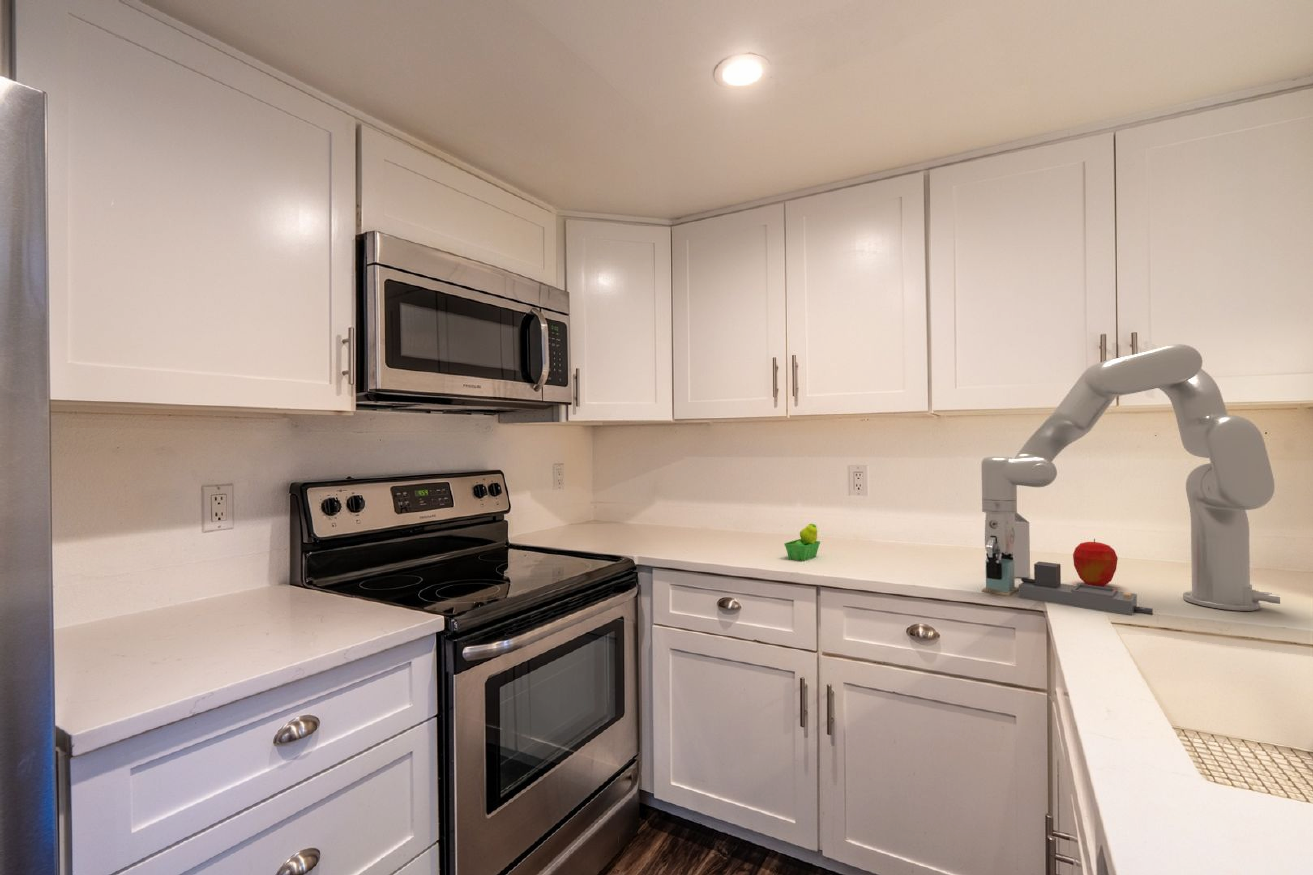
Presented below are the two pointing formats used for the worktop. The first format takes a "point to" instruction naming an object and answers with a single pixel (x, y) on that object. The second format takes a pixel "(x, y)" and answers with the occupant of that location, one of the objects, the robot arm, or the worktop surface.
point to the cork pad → (1000, 591)
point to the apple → (1095, 563)
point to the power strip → (1076, 592)
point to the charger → (1003, 578)
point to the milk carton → (1022, 548)
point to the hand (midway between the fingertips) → (1000, 575)
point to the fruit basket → (804, 544)
